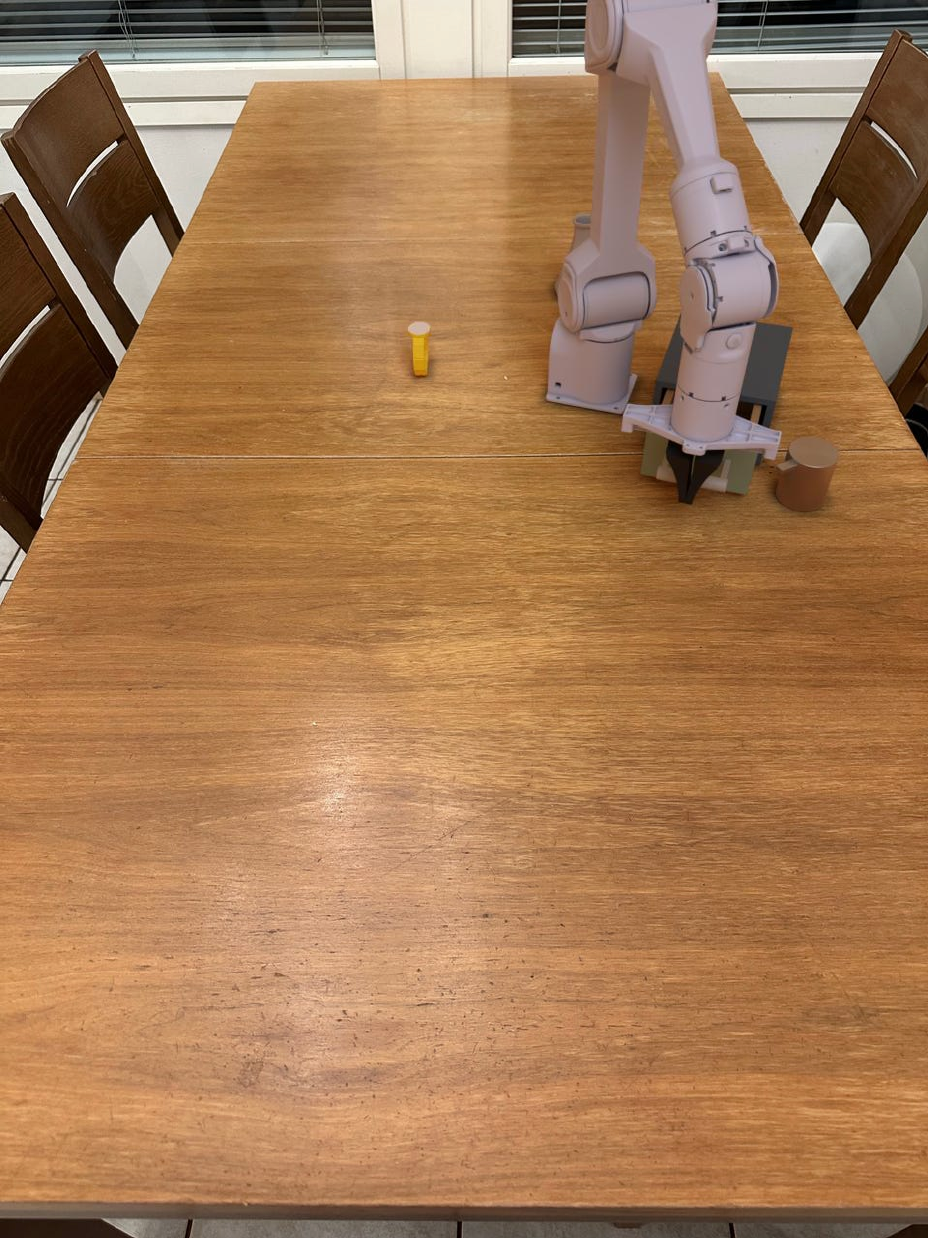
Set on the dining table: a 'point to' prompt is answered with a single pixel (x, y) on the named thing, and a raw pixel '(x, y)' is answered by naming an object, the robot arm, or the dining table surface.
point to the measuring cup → (806, 473)
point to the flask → (577, 236)
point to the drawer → (727, 477)
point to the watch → (420, 346)
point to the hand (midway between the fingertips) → (686, 497)
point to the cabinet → (758, 375)
